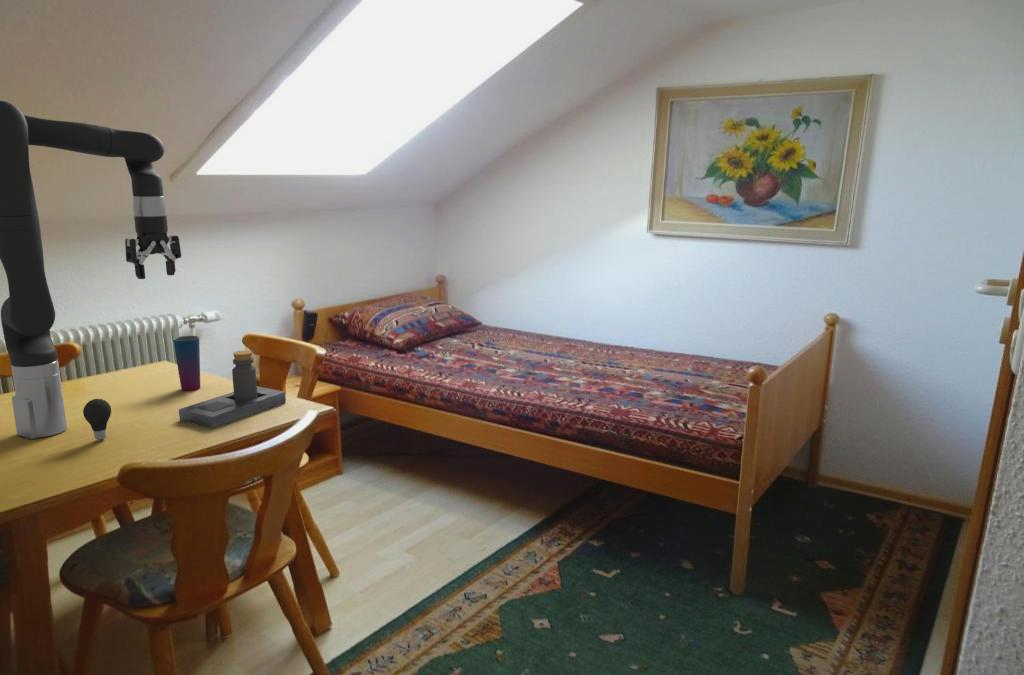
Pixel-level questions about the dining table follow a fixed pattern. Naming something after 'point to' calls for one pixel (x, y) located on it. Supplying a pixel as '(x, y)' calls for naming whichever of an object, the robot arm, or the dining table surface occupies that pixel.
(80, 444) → the dining table surface
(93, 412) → the light bulb
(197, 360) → the cup
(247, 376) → the bottle
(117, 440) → the dining table surface
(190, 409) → the panel
